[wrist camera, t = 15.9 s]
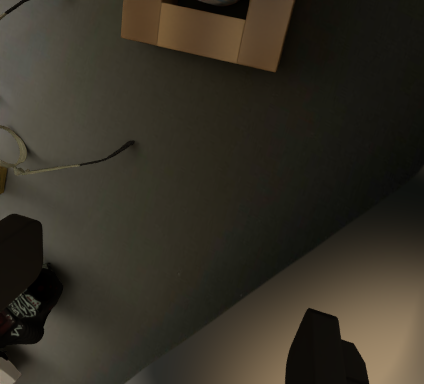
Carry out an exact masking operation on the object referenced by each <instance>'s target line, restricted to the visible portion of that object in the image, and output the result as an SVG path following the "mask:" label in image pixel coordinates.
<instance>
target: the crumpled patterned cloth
mask: <svg viewBox="0 0 424 384" xmlns="http://www.w3.org/2000/svg"><path fill="white" fill-rule="evenodd" d="M48 264H50V263H46V264H43V266H42V269H41V272H40V274H39V276H38V277H37V279H36V280H35V281H34V282H33V283H32V284H31V285H30V286H29V287H28V288H27V289H26V290H25V291H24V292H23V293H21V294H20V295H19V296H18V297H17V298H16V299H15V300H14V301H13V302H12V303H11V304H10V305H8V306H7V307H6V308H5V309H4V310H3V311H2V312H1V313H0V348H4V347H5V346H7V345H12V344H35V343H37V342H39V341H40V340H41V338H42V337H43V334H44V328H43V327H44V324H45V321H46V319H47V316H48V315H49V313H50V312H51V309H52V308H53V307H54V306H55V305H56V304H57V302H58V300H59V298H60V296H61V294H62V291H63V285H62V283H61V281H60V280H59V279H58V277H57V276H56V274H55V273H54V272H53V271H51V268H50V266H49V265H48ZM5 352H7V351H4V352H3V351H0V357H2V358H3V359H5V360H6V361H7V360H8V357H7V355H6V353H5Z"/></svg>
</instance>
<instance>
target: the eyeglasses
mask: <svg viewBox="0 0 424 384" xmlns="http://www.w3.org/2000/svg"><path fill="white" fill-rule="evenodd" d="M27 1H29V0H22V1H20V2H19V3H17V4H16V5H14V6H13V7H12V8H10V9H9V10H7V11H6V12H5V13H3V14H2V15H0V20H1V19H2V18H3V17H5V16H6V15H7V14H9V13H10V12H12V11H13V10H14V9H16V8H17V7H19V6H20V5H21V4H23V3H24V2H27ZM0 128H3V129H5V130H7V131H8V132H9V133H11V134H12V135H13V137H14V138H15V139H16V141H17V143H18V145H19V149H20V158H19V160H18V162H17V163H16V164H8V163H6V162H4V161H2V160H0V166H2V167H6V168H8V167H13V168H14V170H13V171H14V173H15V174H16V176H17V175H20V174H22V175H26V174H32V173H38V172H45V171H51V170H57V169H63V168H69V167H76V166H82V165H87V164H93V163H98V162H101V161H104V160H107V159H109V158H111V157H113V156H115V155H117V154H118V153H120V152H121V151H123V150H125V149H126V148H128V147H129V146H131V145H133V143H134V141H129V142H127V143H126V144H125V145H124V146H122V147H121V148H120V149H119V150H117V151H116V152H114V153H113V154H111V155H110V156H108V157H107V158H104V159H102V160H98V161H93V162H88V163H83V164H77V165H69V166H60V167H52V168H47V169H41V170H34V171H30V170H29V169H27V170H25V171H26V172H25V171H24V170H23V169H21V168H18V169H17V167H16V165H18V164H20V163H22V162H24V161H25V160H26V157H27V149H26V147H25V144H24V142H23V141H22V140H21V138H20V137H19V136H17V135H16V134H15V133H14V132H13V131H12V130H11V129H9V128H7V127H5V126H1V125H0Z"/></svg>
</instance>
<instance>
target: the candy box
mask: <svg viewBox="0 0 424 384" xmlns="http://www.w3.org/2000/svg"><path fill="white" fill-rule="evenodd" d="M6 175H7V168H5V167H2V166H0V194H2V193H3V192H4V187H5V181H6Z"/></svg>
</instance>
